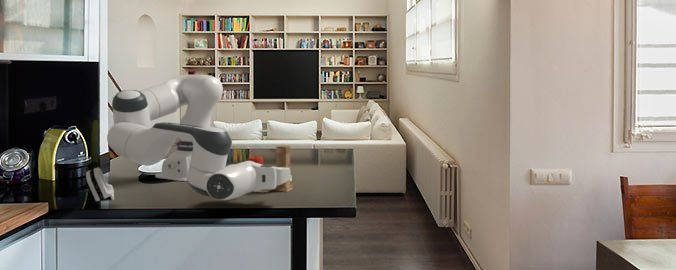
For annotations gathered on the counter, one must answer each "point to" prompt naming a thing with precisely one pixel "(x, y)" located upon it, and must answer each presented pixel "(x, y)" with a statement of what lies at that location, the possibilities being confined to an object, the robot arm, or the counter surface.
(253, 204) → the counter surface
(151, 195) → the counter surface
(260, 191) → the board
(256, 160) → the apple
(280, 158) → the brown wooden block tower
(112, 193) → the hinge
